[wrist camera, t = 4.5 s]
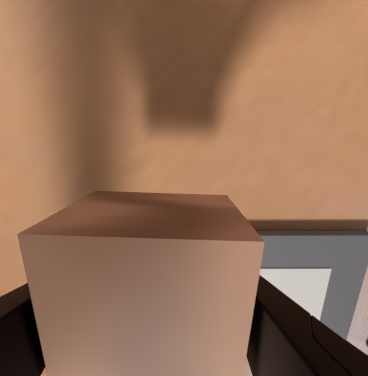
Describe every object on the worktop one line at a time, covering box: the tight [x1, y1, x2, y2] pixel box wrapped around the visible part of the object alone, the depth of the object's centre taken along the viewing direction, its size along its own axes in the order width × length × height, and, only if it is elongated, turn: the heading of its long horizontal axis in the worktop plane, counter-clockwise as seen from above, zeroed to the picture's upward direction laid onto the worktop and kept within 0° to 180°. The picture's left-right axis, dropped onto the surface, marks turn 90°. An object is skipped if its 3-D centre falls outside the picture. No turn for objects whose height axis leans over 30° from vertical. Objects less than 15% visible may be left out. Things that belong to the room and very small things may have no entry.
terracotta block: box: [18, 191, 265, 376], centre depth 7 cm, size 6×6×4 cm
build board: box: [256, 231, 368, 340], centre depth 19 cm, size 14×14×1 cm
